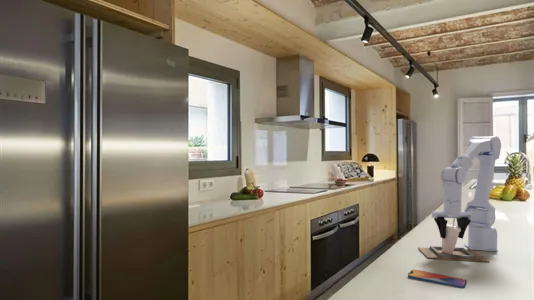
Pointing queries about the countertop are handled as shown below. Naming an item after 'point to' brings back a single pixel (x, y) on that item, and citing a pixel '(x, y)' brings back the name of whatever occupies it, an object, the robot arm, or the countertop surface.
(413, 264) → the countertop surface
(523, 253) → the countertop surface
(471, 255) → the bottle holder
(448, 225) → the smoothie
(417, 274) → the smartphone
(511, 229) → the countertop surface
